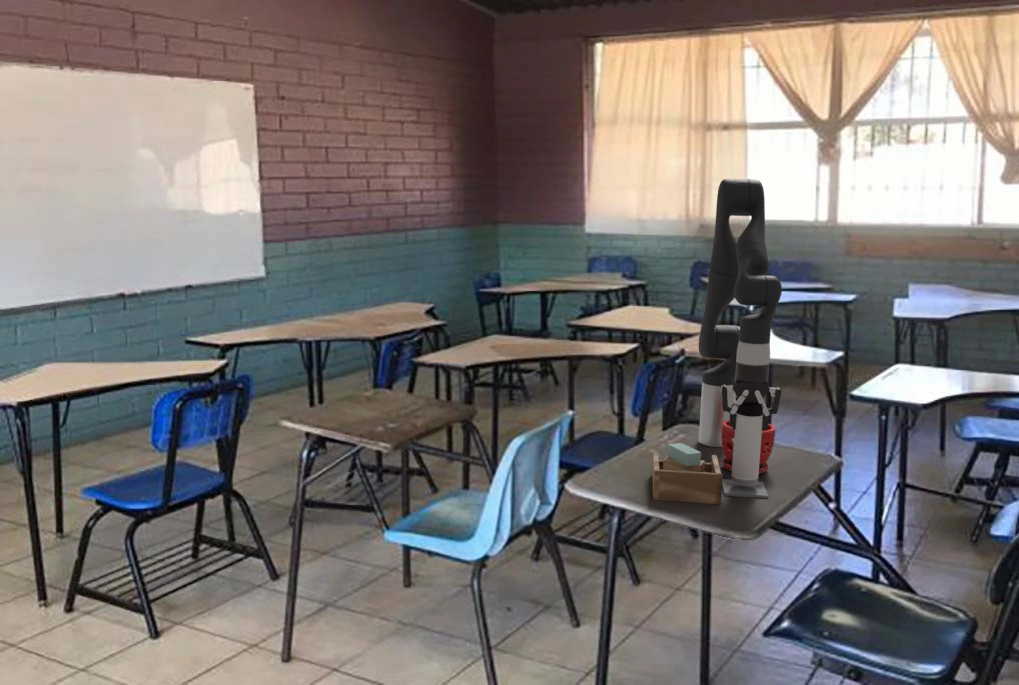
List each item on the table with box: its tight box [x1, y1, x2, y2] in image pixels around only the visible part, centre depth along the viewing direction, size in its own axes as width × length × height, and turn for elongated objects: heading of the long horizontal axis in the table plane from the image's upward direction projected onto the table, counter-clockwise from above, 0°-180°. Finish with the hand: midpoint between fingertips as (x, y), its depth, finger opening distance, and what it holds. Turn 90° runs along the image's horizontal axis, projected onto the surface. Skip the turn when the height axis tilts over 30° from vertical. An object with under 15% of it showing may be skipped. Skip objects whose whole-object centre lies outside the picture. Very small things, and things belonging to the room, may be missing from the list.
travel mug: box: [730, 403, 763, 485], centre depth 228 cm, size 6×7×20 cm
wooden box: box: [651, 451, 724, 505], centre depth 230 cm, size 18×15×7 cm
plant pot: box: [721, 420, 776, 474], centre depth 245 cm, size 13×13×12 cm
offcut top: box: [667, 442, 702, 466], centre depth 234 cm, size 4×8×3 cm, turn 24°
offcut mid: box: [662, 455, 706, 472], centre depth 234 cm, size 4×9×3 cm, turn 66°
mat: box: [722, 478, 769, 499], centre depth 231 cm, size 10×10×1 cm
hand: (748, 429), depth 228 cm, fingers closed on travel mug, 6 cm apart
